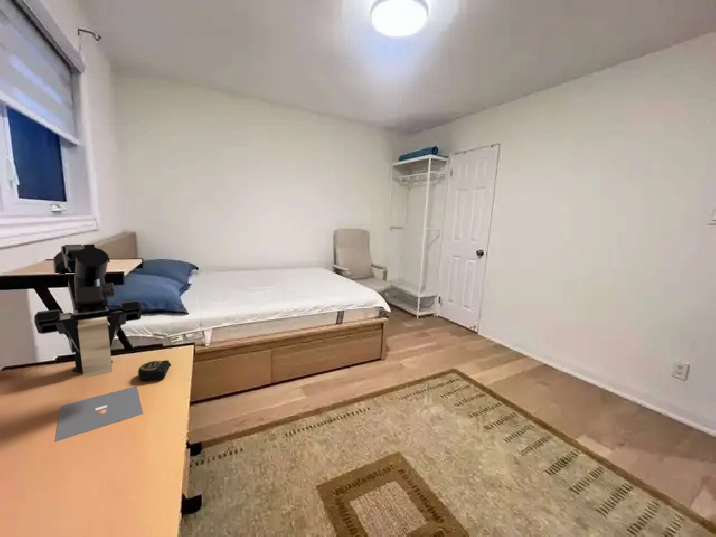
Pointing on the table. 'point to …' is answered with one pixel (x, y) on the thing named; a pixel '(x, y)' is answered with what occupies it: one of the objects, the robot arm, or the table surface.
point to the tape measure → (153, 370)
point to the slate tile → (97, 412)
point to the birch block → (94, 346)
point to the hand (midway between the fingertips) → (95, 348)
